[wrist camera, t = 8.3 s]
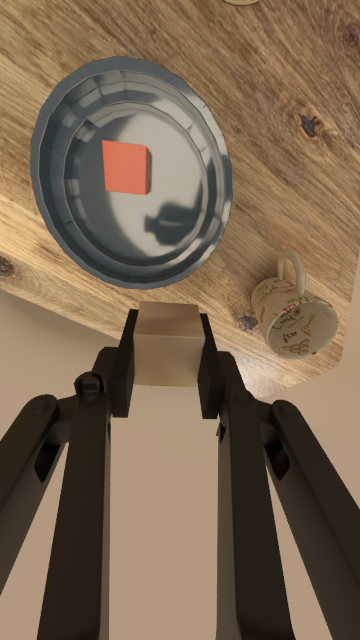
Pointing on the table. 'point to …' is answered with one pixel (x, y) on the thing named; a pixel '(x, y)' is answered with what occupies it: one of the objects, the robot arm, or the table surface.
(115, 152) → the coral block
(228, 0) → the can
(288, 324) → the mug
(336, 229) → the table surface
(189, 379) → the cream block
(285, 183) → the table surface
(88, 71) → the bowl
